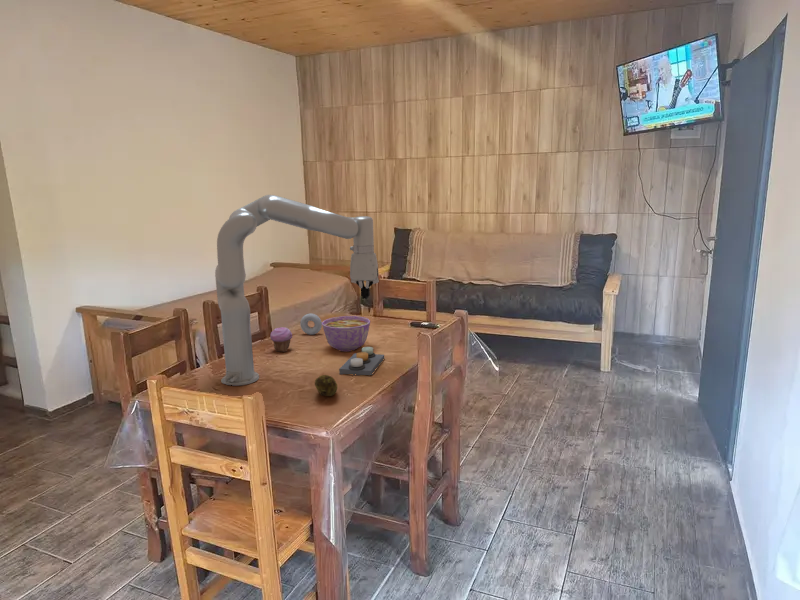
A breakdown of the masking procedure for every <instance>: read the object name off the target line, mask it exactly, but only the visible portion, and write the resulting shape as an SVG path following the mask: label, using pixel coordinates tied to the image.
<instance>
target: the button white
mask: <svg viewBox="0 0 800 600" xmlns="http://www.w3.org/2000/svg"><path fill="white" fill-rule="evenodd" d="M351 366H352V367H361V366H363V359H362V358H353V359H351Z"/></svg>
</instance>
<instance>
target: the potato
mask: <svg viewBox="0 0 800 600" xmlns="http://www.w3.org/2000/svg"><path fill="white" fill-rule="evenodd" d="M314 386H315V388H316V390H317V392H318V393H319V394H320V395H321V396H325V397H331V396H332V397H333V396H334V395H336V392H337V390H338V384H337V382H336V380H335V379H334V378H333V376H332V375H331V376H330V375H328V374H322V375H319V377H317V378H315V380H314Z"/></svg>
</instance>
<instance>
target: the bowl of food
mask: <svg viewBox="0 0 800 600" xmlns="http://www.w3.org/2000/svg"><path fill="white" fill-rule="evenodd" d="M321 322H322V328H323V332H324V336H325V339H326V340H327V344H328V345H329V346H330V347H332V348H333V349H336V350H337V351H339V350H340V352H352V351H351V350H353V351H356V350H357V349H359V348H361V347H362V346H363V345H364V344H365V343H366V341H367V339H368V335H369V330H370V326H371V320H370V319H369V318H368V317H364V316H357V315H352V316H351V315H344V316H343V315H342V316H335V317H330V318H327V319H324V320H323V321H321ZM355 349H356V350H355Z"/></svg>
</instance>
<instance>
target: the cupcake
mask: <svg viewBox="0 0 800 600" xmlns="http://www.w3.org/2000/svg"><path fill="white" fill-rule="evenodd" d="M292 338H293V333H292V331H291V330H290V329H289V328H288V327H285V326H284V327H283V326H282V327H276V328H274V329H273V330H272V331H271V332H270V338H269V339H270V340H271V341H272V342H273V349H274V351H275V352H277V353H279V352H280V353H286V352H287V351H288V349H289V347H290V344H291V339H292Z"/></svg>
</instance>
